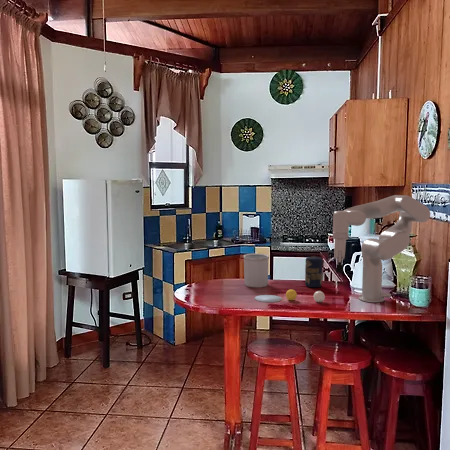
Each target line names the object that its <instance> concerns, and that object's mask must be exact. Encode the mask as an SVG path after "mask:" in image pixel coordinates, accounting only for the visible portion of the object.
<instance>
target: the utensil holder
mask: <svg viewBox="0 0 450 450" xmlns="http://www.w3.org/2000/svg"><path fill="white" fill-rule="evenodd" d="M269 258H270V255H268V254H267V253H266V254H265V253H247V254H244V255H243V270H244V271H243V276H244V286H246V287H250V288H263V287H267V286H268V284H269Z"/></svg>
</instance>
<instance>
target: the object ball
mask: <svg viewBox="0 0 450 450" xmlns="http://www.w3.org/2000/svg"><path fill="white" fill-rule="evenodd" d="M297 295H298V293H297V292H296V290H295V289H288V290H287V291H286V293H285V297H286V299H287V300H289V301H295V300H296V299H297Z"/></svg>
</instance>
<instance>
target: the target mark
mask: <svg viewBox="0 0 450 450" xmlns="http://www.w3.org/2000/svg"><path fill="white" fill-rule="evenodd" d="M255 300H256V301H258V302H262V303H277V302H281V301H282V300H283V299H282V297H281V296H279V295H276V294H275V295H273V294H262V295H256V296H255V297H254V301H255ZM280 300H281V301H280Z"/></svg>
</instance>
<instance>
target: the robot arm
mask: <svg viewBox="0 0 450 450" xmlns="http://www.w3.org/2000/svg"><path fill="white" fill-rule="evenodd" d="M430 210H431V209H429V208H428V206H427V205H425V204H423V203H422V202H420V201H419V200H417V199H415V198H414V197H411V196H409V195H405V194H404V195H401V194H394V195H390V196H388V197H385V198H382V199H379V200H376V201H371V202H368V203H363V204H360V205H354V206H352V207H347V208H346V209H344V210H335V211H334V212H333V216H332V220H333V221H332V222H333V223H332V239H333V240H334V245H333V247H334V248H333V254H334V255H333V259H334V260H336V265H335V269H336V271H335V272H336V273H337V274H343V273H344V264H343V261H344V260H345V257H346V256H345V255H346V247H347V246H346V245H347V240H349V231H350V230H349V229H350V226H355V227H359V226H362V225H364V224H365V223H366V219H380V218H383V217H387V216H388V215H389V216H390V215H391V214H392V215H393V214H395V213H398V212H399V214H398V215H399V216H398V220H397V222H396V223H394V225H391V226H390V227H389V228H387V229H385V230H383V231H382V232H381V233H380V234H379V236H378V239H377V238H373V237H372V238H371V237H370V238H367V239H365V240H363V242H362V244H361V250H360V251H361V256H362V281H361V283H362V284H361V294H360V295H359V296H358V299H359V300H360V301H362V302H366V303H375V304H377V303H383V302H385V298H389V299H391V298H392V294H391V293H388V292H383V290H382V286H383V285H382V284H383V283H382V282H383V262H382V261H387V260H390V259H392V258H394V257H395V256H397V255H399V254H400V253H401V252H404V251H405V249H407V248H408V246H409V245H410V242H411V237H410V234H411V232H412V227H413V226H412V225H413V223H414V222H416V223H426V222H427V221H428V220H429V219H430V218H431V211H430Z"/></svg>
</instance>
